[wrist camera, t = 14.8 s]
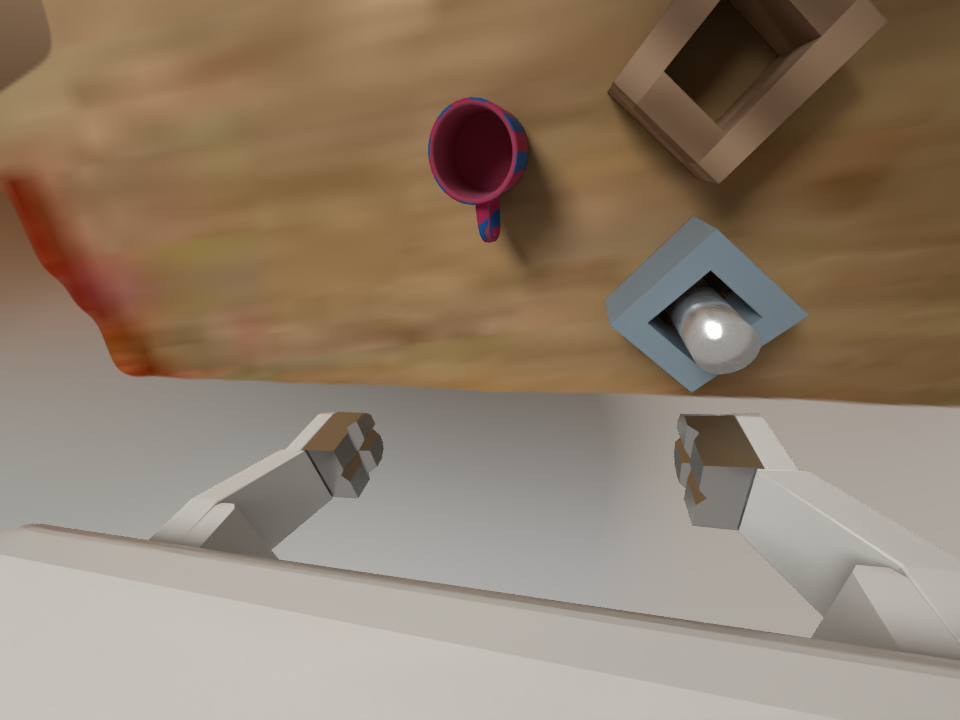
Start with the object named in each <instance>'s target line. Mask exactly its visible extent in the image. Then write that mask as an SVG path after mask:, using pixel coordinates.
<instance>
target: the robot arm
mask: <svg viewBox="0 0 960 720" xmlns="http://www.w3.org/2000/svg"><path fill="white" fill-rule="evenodd" d="M374 425H375V422H374V420H373V418H372V416H371V415H370V414H367V413H351V412H337V413H336V412H323V413H320V414H318V415H317V416H316V417H315V419H314V420H313V421H312V422H311V423H310V424H309V425H308V426H307V427H306V428H305V429H304V430H303V431H302V433H301V434H300V435H299V436H298V437H297V438H296V439H295V440H294V441H293V442H292V443H291V444H290V445H289V446H288V448H287V449H286V450H280V451H278V452H276V453H274V454H272V455H271V456H269V457H267V458H265V459H263V460H261V461H260V462H258V463H256V464H254V465H252V466H251V467H249V468H247V469H245V470H243V471H242V472H240V473H238V474H236V475H234V476H232V477H231V478H229V479H227V480H225V481H223V482H221V483H220V484H218V485H216V486H214V487H212V488H210V489H209V490H207V491H205V492H203V493H201V494H199V495H198V496H196V497H194V498H192V500H190V501H189V502H188V503H187V504H186V505H185V506H184V507H183V508H182V509H181V510H180V511H179V512H178V513H177V514H175V515H174V516H173V517H172V518H171V519H170V520H169V521H168V522H167V523H166V524H165V525H164V526H163V527H162V528H161V529H160V530H159V531H158V532H157V533H155V534H154V535H153V536H152V537H151V538H150V539H149V540H143V539H137V538H131V537H124V536H117V535H110V534H104V533H97V532H90V531H83V530H76V529H70V528H63V527H57V526H51V525H45V524H28V525H23V526H20V527H17V528H14V529H11V530H8V531H6V532H3V533H1V534H0V720H960V560H959V559H958V558H956V557H954V556H953V555H951V554H949V553H948V552H946V551H944V550H942V549H941V548H939V547H937V546H936V545H934V544H932V543H931V542H929V541H927V540H925V539H923V538H922V537H920V536H919V535H916V534H915V533H913V532H912V531H910V530H908V529H906V528H905V527H903V526H902V525H899V524H898V523H896V522H895V521H893V520H891V519H890V518H888V517H886V516H885V515H883V514H881V513H879V512H878V511H876V510H874V509H872V508H871V507H869V506H868V505H866V504H864V503H862V502H861V501H859V500H857V499H856V498H854V497H852V496H850V495H849V494H847V493H845V492H844V491H842V490H840V489H838V488H837V487H835V486H833V485H832V484H830V483H828V482H827V481H825V480H823V479H822V478H820V477H818V476H816V475H815V474H813V473H811V472H809V471H800V470H799V469H798V467H797V466H796V464H795V463H794V461H793V460H792V459H791V457H790V456H789V454H788V453H787V451H786V450H785V448H784V447H783V445H782V444H781V442H780V441H779V440H778V438H777V437H776V435H775V434H774V432H773V431H772V429H771V428H770V426H769V425H768V424H767V422H766V421H765V419H764V418H763V416H761V415H760V414H758V413H748V414H747V413H745V414H680V416H679V419H678V425H677V429H678V432H679V435H680V438H679V439H678V440H677V441H676V442H675V450H674V458H675V468H676V473H677V477H678V480H679V483H681V485H683V486H684V487H685V488H686V490H685V497H684V500H685V503H686V506H687V510H688V513H689V516H690V519H691V522H692V525H693V526H701V527H712V528H720V529H721V528H722V529H730V530H739V532H738V533H739V534H740V535H741V536H743V537H744V539H746V541H748V542H749V544H751V545H752V546H753V548H755V549H756V550H757V551H758V552H759V553H760V554H761V555H762V556H763V557H764V558H765V559H766V560H767V561H768V562H769V563H770V564H771V565H772V566H773V567H774V568H775V569H776V570H777V571H778V572H779V573H780V574H781V575H782V576H783V577H784V578H785V579H786V580H787V581H788V582H789V583H790V584H791V585H792V586H793V587H794V588H795V589H796V590H797V591H798V592H799V593H800V594H801V595H802V596H803V597H804V598H805V599H806V600H807V601H808V602H809V603H810V604H811V605H812V606H813V607H814V608H815V609H816V610H817V611H818V612H819V613H820V614H821V615H822V616H823V617H824V618H823V620H822V621H821V623H820V625H819V627H818V628H817V629H816V631H815V633H814V634H813V636H812V638H805V637H798V636H791V635H785V634H778V633H771V632H764V631H758V630H751V629H744V628H737V627H731V626H724V625H717V624H710V623H704V622H696V621H690V620H683V619H677V618H670V617H663V616H656V615H650V614H643V613H636V612H629V611H623V610H616V609H609V608H602V607H596V606H589V605H582V604H575V603H569V602H562V601H555V600H548V599H542V598H535V597H527V596H521V595H515V594H508V593H501V592H494V591H487V590H481V589H474V588H467V587H460V586H454V585H447V584H440V583H433V582H427V581H419V580H413V579H406V578H399V577H393V576H386V575H379V574H372V573H365V572H359V571H352V570H345V569H338V568H331V567H325V566H318V565H311V564H304V563H298V562H291V561H284V560H279V559H278V558H277V557H276V555H275V554H274V553H273V552H272V551H271V550H272V549H273V548H274V547H275V546H276V545H278V544H279V543H280V542H281V541H282V540H283V539H285V538H286V537H287V536H288V535H290V534H291V533H292V532H293V531H294V530H295V529H297V528H298V527H299V526H300V525H301V524H303V523H304V522H305V521H306V520H307V519H309V518H310V517H311V516H312V515H313V514H315V513H316V512H317V511H318V510H319V509H320V508H321V507H323V506H324V505H325V504H326V503H328V502H329V501H330V500H331V499H332V497H345V498H359V496H360V494H361V493H362V491H363V489H364V488H365V486H366V484H367V483H368V481H369V480H370V477H369V472H370V471H372V470H373V469H375V468H376V467H377V466H378V464H379V462H380V461H381V459H382V454H383V441H382V439H381V436H380V435H379V434H378V433H377V432H376V431H374V430H373V428H374Z"/></svg>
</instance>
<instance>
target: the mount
mask: <svg viewBox="0 0 960 720" xmlns="http://www.w3.org/2000/svg"><path fill="white" fill-rule="evenodd" d="M719 1H720V0H674V1H673V2H672V4H671V5H670V7H669V8H668V9H667V11H666V12H665V13H664V15H663V16H662V17H661V19H660V20H659V21H658V23H657V24H656V25H655V27H654V28H653V30H652V31H651V32H650V34H649V35H648V36H647V38H646V39H645V40H644V42H643V43H642V44H641V46H640V47H639V48H638V50H637V51H636V53H635V54H634V55H633V57H632V58H631V59H630V61H629V62H628V63H627V65H626V66H625V67H624V69H623V70H622V71H621V73H620V74H619V76H618V77H617V78H616V80H615V81H614V82H613V84H612V86H611V87H610V89H609V91H608V93H609V94H610V95H611V96H612V97H613V98H614V99H615V100H616V101H617V102H618V103H619V104H620V105H621V106H622V107H623V108H624V109H625V110H626V111H627V112H628V113H629V114H631V115H632V116H633V117H634V118H635V119H636V120H637V121H638V122H639V123H640V124H641V125H642V126H643V127H644V128H645V129H646V130H647V131H648V132H649V133H650V134H651V135H652V136H654V137H655V138H656V139H657V140H658V141H659V142H660V143H661V144H662V145H663V146H664V147H665V148H666V149H667V150H668V151H669V152H670V153H671V154H672V155H673V156H674V157H675V158H677V159H678V160H679V161H680V162H681V163H682V164H683V165H684V166H685V167H686V168H687V169H688V170H689V171H690V172H691V173H692V174H693V175H694V176H695V177H696V178H697V179H700V180H704V181H708V182H713V183H717V184H720V183H721V182H722V181H723V180H724V179H725V178H726V177H727V176H728V175H729V174H730V173H731V172H732V171H733V170H734V169H735V168H736V167H737V166H738V165H739V164H740V163H741V162H742V161H743V160H745V159H746V158H747V157H748V156H749V155H750V154H751V153H752V152H753V151H754V150H755V149H756V148H757V147H758V146H759V145H760V144H761V143H762V142H763V141H764V140H765V139H766V138H767V137H768V136H769V135H771V134H772V133H773V132H774V131H775V130H776V129H777V128H778V127H779V126H780V125H781V124H782V123H783V122H784V121H785V120H786V119H787V118H788V117H789V116H790V115H791V114H792V113H793V112H794V111H795V110H797V109H798V108H799V107H800V106H801V105H802V104H803V103H804V102H805V101H806V100H807V99H808V98H809V97H810V96H811V95H812V94H813V93H814V92H815V91H816V90H817V89H818V88H819V87H820V86H821V85H823V84H824V83H825V82H826V81H827V80H828V79H829V78H830V77H831V76H832V75H833V74H834V73H835V72H836V71H837V70H838V69H839V68H840V67H841V66H842V65H843V64H844V63H845V62H846V61H847V60H849V59H850V58H851V57H852V56H853V55H854V54H855V53H856V52H857V51H858V50H859V49H860V48H861V47H862V46H863V45H864V44H865V43H866V42H867V41H868V40H869V39H870V38H871V37H872V36H873V35H875V34H876V33H877V32H878V31H879V30H880V29H881V28H882V27H883V26H884V25H885V24H886V23H887V22H888V21H887V20H886V19H885V18H884V17H883V15H882V14H881V13H880V12H879V11H878V9H877V8H876V7H875V6H874V5H873V4H872V2H871V1H870V0H728V1H729V2H730V3H731V4H732V5H733V6H734V7H735V8H736V9H737V11H738V12H739V13H740V14H741V15H742V16H743V17H744V18H745V19H746V20H747V21H748V22H749V24H750V25H751V26H752V27H753V28H754V29H755V30H756V31H757V32H758V33H759V34H760V35H761V37H762V38H763V39H764V40H765V41H766V42H767V43H768V44H769V45H770V46H771V47H772V48H773V50H774V51H775V52H776V53H777V54H778V55H779V56H778V57H777V58H776V59H775V61H774V62H773V63H772V64H771V65H770V66H769V67H768V68H767V69H766V70H765V71H764V72H763V73H762V74H761V75H760V77H759V78H758V79H757V80H756V81H755V82H754V83H753V84H752V85H751V86H750V87H749V88H748V89H747V90H746V91H745V92H744V94H743V95H742V96H741V97H740V98H739V99H738V100H737V101H736V102H735V103H734V104H733V105H732V106H731V107H730V108H729V110H728V111H727V112H726V113H725V114H724V115H723V116H722V117H721V118H720V119H719V120H718V121H717V122H716V123H715V122H714V121H713V120H712V119H711V118H710V117H709V116H708V115H707V114H706V113H705V112H704V111H703V110H702V109H701V108H700V107H699V106H698V105H697V104H696V103H695V102H694V101H693V100H692V99H691V98H690V97H689V96H688V95H687V94H686V93H685V92H684V91H683V90H682V89H681V88H680V87H679V86H678V85H677V84H676V83H675V82H674V81H673V80H672V79H671V78H670V77H669V76H668V75H667V74H666V73H665V72H664V70H665V69H666V67H667V66H668V65H669V64H670V62H671V61H672V60H673V59H674V57H675V56H676V55H677V54H678V52H679V51H680V50H681V49H682V47H683V46H684V45H685V44H686V42H687V41H688V40H689V39H690V37H691V36H692V35H693V34H694V32H695V31H696V30H697V29H698V27H699V26H700V25H701V24H702V22H703V21H704V20H705V19H706V17H707V16H708V15H709V13H710V12H711V11H712V10H713V8H714V7H715V6H716V5H717V3H718V2H719Z"/></svg>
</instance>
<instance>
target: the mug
mask: <svg viewBox="0 0 960 720" xmlns="http://www.w3.org/2000/svg"><path fill="white" fill-rule="evenodd" d="M428 155H429V163H430V167H431V170H432V173H433V175H434V178H435V180H436V181H437V183H438V184H439V186H440V187H441V188H442V190H443V191H444V192H445V193H446V194H448V195H449V196H450V197H451V198H453V199H455V200H456V201H459V202H461V203H464V204H471V205H476V213H477V222H478V228H479V233H480V236H481V238H482V239H483V241H484V242H494V241H496V240H497V239H498V236H499V234H500V197H499V196H500V195H501V194H503V193H504V192H506V191H508V190H509V189H510V188H512V187H513V186H514V185H515V184H516V183H517V182H518V181H519V179H520V178H521V176H522V174H523V172H524V170H525V167H526V164H527V160H528V142H527V137H526V134H525V131H524V129H523V127H522V125H521V124H520V122H519V121H518V120H517V118H515V117H514V116H513V115H512V114H511V113H509V112H508V111H506V110H504V109H502V108H501V107H499V106H497V105H495V104H494V103H492V102H490V101H488V100H485V99H482V98H475V97H470V98H463V99H460V100H458V101H455V102H454V103H452V104H450V105H449V106H448V107H447V108H446V109H444V110H443V111H442V113H441V114H440V115H439V117H438V118H437V120H436V121H435V123H434V125H433V128H432V131H431V134H430V138H429V144H428Z"/></svg>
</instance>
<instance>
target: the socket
mask: <svg viewBox="0 0 960 720" xmlns="http://www.w3.org/2000/svg"><path fill="white" fill-rule="evenodd" d="M709 271H712V272H713V273H714V274H715V275H716V276H717V277H718V278H719V279H720V280H721V281H723V282H724V283H725V284H726V285H727V286H728V287H729V288H730V289H731V290H732V291H733V292H732V293H731V294H730V295H728V296H727V297H726V298H724V300H725V301H726V302H727V303H728V304H729V305H730V306H731V307H732V308H733V309H734V310H735V311H736V312H737V313H738V314H739V315H740V316H741V317H742V318H743V319H744V320H745V321H746V322H747V323H748V324H749V325H750V326H751V327H752V328H753V329H754V330H755V331H756V332H757V333H758V335H759V337H760V340H761V347H762V346H763V345H765V344H766V343H768V342H769V341H771V340H772V339H774V338H775V337H777V336H778V335H780V334H781V333H783V332H785V331H786V330H788V329H789V328H791V327H792V326H794V325H795V324H797V323H798V322H800V321H801V320H803V319H804V318H806V317H807V316H809V315H808V314H807V313H806V312H805V311H804V310H803V309H802V308H801V307H800V306H799V305H798V304H797V303H796V302H794V301H793V300H792V299H791V298H790V297H789V296H788V295H787V294H786V293H785V292H784V291H783V290H782V289H781V288H780V287H778V286H777V285H776V284H775V283H774V282H773V281H772V280H771V279H770V278H769V277H768V276H767V275H766V274H765V273H764V272H762V271H761V270H760V269H759V268H758V267H757V266H756V265H755V264H754V263H753V262H752V261H751V260H750V259H749V258H748V257H747V256H745V255H744V254H743V253H742V252H741V251H740V250H739V249H738V248H737V247H736V246H735V245H734V244H733V243H732V242H731V241H729V240H728V239H727V238H726V237H725V236H724V235H723V234H722V233H721V232H720V231H719V230H718V229H716V228H714V227H713V226H711V225H709V224H707V223H706V222H704V221H702V220H700V219H698V218H697V217H695V216H692V217H691V218H690V219H689V220H688V221H687V222H686V223H685V224H684V225H683V226H682V227H681V228H680V229H679V230H678V231H677V232H676V233H675V234H674V235H672V236H671V237H670V238H669V239H668V240H667V241H666V242H665V243H664V244H663V245H662V246H661V247H660V248H659V249H658V250H657V251H656V252H655V253H654V254H652V255H651V256H650V257H649V258H648V259H647V260H646V261H645V262H644V263H643V264H642V265H641V266H640V267H639V268H638V269H637V270H636V271H635V272H634V273H632V274H631V275H630V276H629V277H628V278H627V279H626V280H625V281H624V282H623V283H622V284H621V285H620V286H619V287H618V288H617V289H616V290H615V291H614V292H612V293H611V294H610V295H609V296H608V297H607V298H606V299H605V304H606V309H607V314H608V319H609V323H610V325H611V326H612V327H613V328H614V329H615V330H617V331H618V332H619V333H620V334H621V335H623V336H624V337H625V338H626V339H627V340H629V341H630V342H631V343H632V344H633V345H635V346H636V347H637V348H638V349H640V350H641V351H642V352H643V353H644V354H646V355H647V356H648V357H649V358H650V359H652V360H653V361H654V362H655V363H656V364H658V365H659V366H660V367H661V368H662V369H664V370H665V371H666V372H667V373H669V374H670V375H671V376H672V377H673V378H675V379H676V380H677V381H678V382H679V383H681V384H682V385H683V386H684V387H685V388H687V389H688V390H689V391H690V392H691V393H692V392H693V391H695V390H696V389H698V388H699V387H701V386H702V385H704V384H705V383H707V382H708V381H710V380H711V379H713V378H714V377H716V376H717V375H719V374H714V373H710V372H707V371H705V370H703V369H701V368H700V367H699V366H698V365H697V364H696V362H695V360H694V359H693V357H692V355H691V353H690V352H689V350H688V348H687V347H686V345H685V343H684V341H683V340H682V338H681V336H680V335H679V334H678V333H677V332H676V331H675V330H674V329H673V328H671V327H670V326H669V325H668V324H667V323H666V322H664V321H663V320H662V319H661V318H660V317H659V316H657V315H658V314H659V313H660V312H661V311H662V310H664V309H665V308H666V307H667V306H668V305H670V304H671V303H672V302H673V301H674V300H676V299H677V298H678V297H679V296H680V295H682V294H683V293H684V292H685V291H686V290H688V289H689V288H690V287H691V286H692V285H694V284H695V283H696V282H697V281H698V280H700V279H701V278H702V277H703V276H704V275H706V274H707V273H708V272H709Z"/></svg>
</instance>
